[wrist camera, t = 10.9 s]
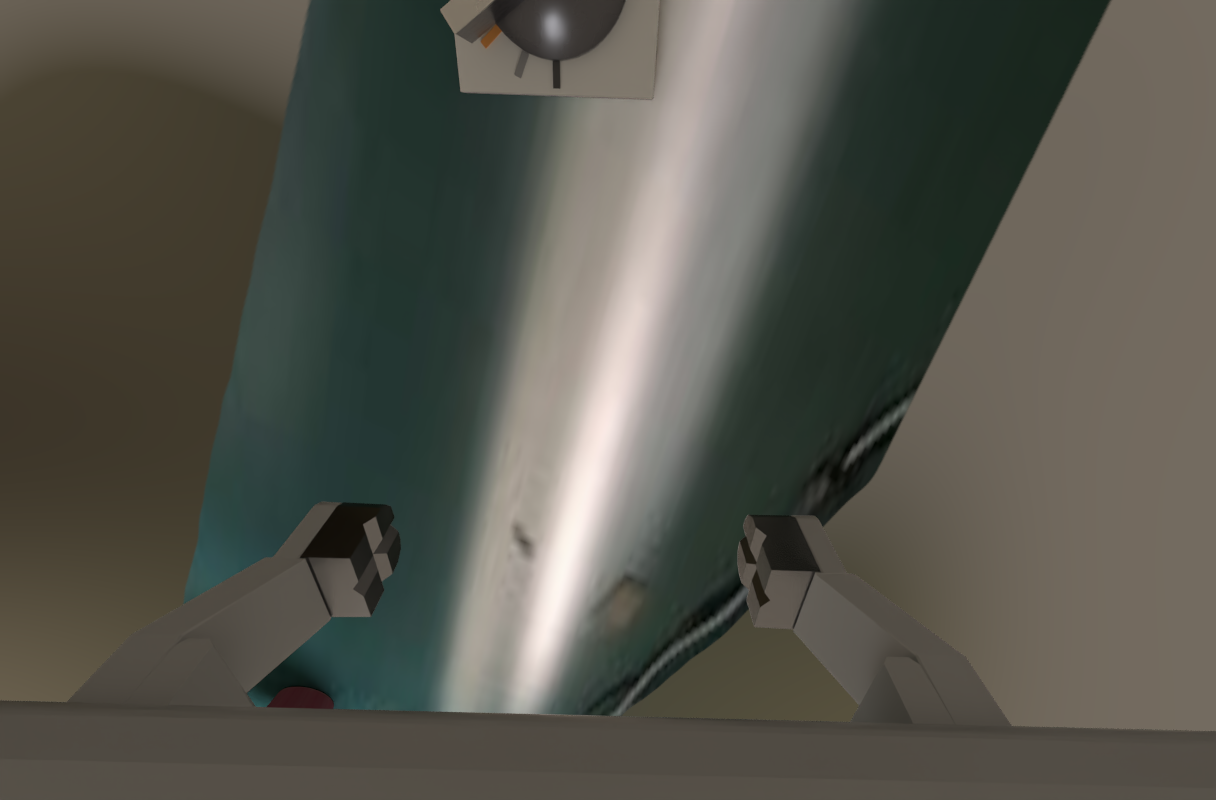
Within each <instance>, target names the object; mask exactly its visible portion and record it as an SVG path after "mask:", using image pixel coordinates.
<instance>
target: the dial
mask: <svg viewBox="0 0 1216 800" xmlns="http://www.w3.org/2000/svg"><path fill="white" fill-rule="evenodd" d="M625 2H626V0H451V1H449V2H448V3H447V4H446V5H445V6H444V7H443V8H441V9H440V11H441V13H442V14H443V16H444V17H445V19H446V21H447V22H448V24H449V26H450V27H451V29H452V31H453V32H454V34H457V35H458V36H460V37H462V38H463V39H465V40H467V41H468V42H470V43H473V42H475V41H476V40H477V39H478V38H479V37H481V36H482V35H483V34H484V33H485V32H487V31H488V30H489V29H490V28H491V27H493V26H494V25H495V24H496V25H497V26H498V27H499V28H500V29H501V31H502V32H503V33H504V34H505V35H506V36H507V37H508V38H509V39H510V40H511V41H512V42H513V43H514V44H516V45H517V46H518V47H520V48H521V49H522V50H524V51H526V52H527V53H529V54H531V55H533V56H536V57H538V58H541V59H546V60H550V61H565V60H571V59H574V58H578V57H580V56H582V55H585V54H587V53H588V52H590V51H591V50H593V49H594V48H596V47H597V46H598V45H599V44H600V43H601V42H603V40H604V39H605V38H606V37H607V36H608V35H609V34H610V32H611V31H612V29H613V28H614V26H615V25H616V23H617V21H618V19H619V17H620V15H621V13H622V10H623V8H624V5H625Z"/></svg>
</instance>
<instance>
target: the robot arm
mask: <svg viewBox="0 0 1216 800" xmlns="http://www.w3.org/2000/svg"><path fill="white" fill-rule="evenodd" d="M393 519H394V514H393V511H392V508H391V506H388V505H384V504H365V503H346V502H343V503H336V502H320V503H318V504H316V505H314V507H313V508H312V509H311V510H310V511H309V513H308V514H307V515H306V517H305V518H304V519H303V520H302V522H301V523H300V524H299V525H298V527H297V528H296V529H295V530H294V532H293V533H292V534H291V535H290V537H289V538H288V539H287V540H286V542H285V543H284V544H283V545H282V547H281V548H280V549H279V550H278V552H277V553H276V554H275V555H274V557H273V558H264V559H262V560H260V561H259V562H257V563H255V564H253V565H252V566H250V567H248V568H246V569H245V570H243V571H241V572H239V573H238V574H236V575H234V576H232V577H231V578H229V579H227V580H225V581H224V582H222V583H220V584H218V585H217V586H215V587H213V588H211V589H210V590H208V591H206V592H204V593H203V594H201V595H199V596H197V597H196V598H194V599H192V600H190V601H189V602H187V603H185V604H184V605H182V606H180V607H178V608H177V609H175V610H173V611H171V612H170V613H168V614H166V615H164V616H163V617H161V618H159V619H157V620H156V621H154V622H152V623H151V624H149V625H147V626H145V627H143V628H142V629H140V630H138V631H136V632H135V633H133V634H131V635H130V636H129V637H128V638H127V639H126V640H125V641H124V643H123V644H122V645H121V646H120V647H119V648H118V649H117V650H116V651H115V652H114V653H113V654H112V655H111V656H110V657H109V658H108V659H107V660H106V661H105V662H104V663H103V664H102V666H101V667H100V668H99V669H98V670H97V671H96V672H95V673H94V674H93V675H92V676H91V677H90V678H89V679H88V680H87V681H86V682H85V683H84V684H83V685H82V687H80V689H79V690H78V691H77V692H76V693H75V694H74V695H73V696H72V697H71V698H70V699H69V700H68V701H67V702H40V701H39V702H38V701H2V700H1V701H0V800H1216V731H1187V730H1148V729H1145V730H1144V729H1108V728H1105V729H1104V728H1067V727H1025V726H1011V724H1010V723H1009V721H1008V720H1007V718H1006V717H1005V715H1004V714H1003V712H1002V711H1001V709H1000V708H999V706H998V705H997V703H996V702H995V700H994V699H993V697H992V696H991V694H990V693H989V691H988V690H987V688H986V687H985V685H984V684H983V682H982V681H981V679H980V678H979V676H978V675H977V673H976V672H975V670H974V669H973V667H972V666H971V664H970V663H969V661H968V660H967V658H966V657H965V656H964V655H962V654H961V653H960V652H958V651H957V650H955V649H954V648H953V647H952V646H950V645H949V644H947V643H946V642H945V641H943V640H942V639H941V638H939V637H938V636H937V635H935V634H934V633H933V632H931V631H930V630H929V629H927V628H926V627H924V626H923V625H922V624H921V623H919V622H918V621H917V620H915V619H914V618H913V617H911V616H910V615H909V614H907V613H906V612H905V611H903V610H902V609H901V608H899V607H898V606H897V605H895V604H894V603H892V602H891V601H890V600H888V599H887V598H886V597H885V596H883V595H882V594H881V593H879V592H878V591H877V590H875V589H874V588H873V587H871V586H870V585H868V584H867V583H866V582H865V581H863V580H862V579H861V578H859V577H858V576H857V575H855V574H848V573H847V572H846V570H845V568H844V566H843V564H842V562H841V561H840V559H839V557H838V555H837V553H836V552H835V549H834V548H833V546H832V544H831V542H830V540H829V538H828V536H827V535H826V533H825V531H824V529H823V527H822V525H821V523H820V521H819V520H818V518H816V517H815V516H800V515H792V516H789V515H748V516H747V517H746V519H745V522H744V526H743V528H744V531H745V534H746V536H745V537H744V538H743V539H742V540H741V541H740V543H739V548H738V570H739V575H740V579H741V582H742V584H743V585H744V586H746V587H747V588H748V589H749V592H748V596H747V604H748V607H749V610H750V614H751V617H752V621H753V624H754V627H762V628H780V629H794V630H793V632H794V633H795V634H796V635H797V636H798V637H799V638H800V639H801V641H802V642H804V644H805V645H806V646H807V647H808V648H809V649H810V651H811V652H812V653H813V654H814V655H815V656H816V657H817V659H818V660H819V661H820V662H821V663H822V664H823V665H824V666H825V668H826V669H827V670H828V671H829V672H830V673H831V674H832V675H833V676H834V678H835V679H836V680H837V681H838V682H839V683H840V684H841V685H842V687H843V688H844V689H845V690H846V691H847V692H848V693H849V694H850V696H851V697H852V698H853V699H854V700H855V701H856V702H857V703H858V704H859V707H858V709H857V711H856V712H855V714H854V716H853V718H852V720H851V722H829V721H789V720H748V719H710V718H670V717H668V718H667V717H630V716H590V715H550V714H509V713H469V712H429V711H389V710H350V709H311V708H272V707H255V705H254V704H253V702H252V701H251V699H250V698H249V696H248V695H247V692H248V691H249V690H251V689H252V688H253V687H254V686H255V685H256V684H257V683H259V682H260V681H261V680H262V679H263V678H264V677H265V676H267V675H268V674H269V673H270V672H271V671H272V670H273V669H275V668H276V667H277V666H278V665H279V664H280V663H281V662H283V661H284V660H285V659H286V658H287V657H288V656H290V655H291V654H292V653H293V652H294V651H295V650H296V649H298V648H299V647H300V646H301V645H302V644H303V643H304V642H306V641H307V640H308V639H309V638H310V637H311V636H312V635H314V634H315V633H316V632H317V631H318V630H319V629H320V628H322V627H323V626H324V625H325V624H326V623H327V622H328V621H330V620H331V617H371V616H372V614H373V612H374V610H375V608H376V606H377V604H378V602H379V600H380V598H381V596H382V594H383V592H384V588H383V585H382V581H383V580H384V579H386V578H387V577H388V576H390V575H391V574H392V573H393V571H394V569H395V567H396V565H397V563H398V559H399V555H400V550H401V544H400V536H399V532H398V531H397V530H396V529H395V528H394V527H392V526H391V525H390V524H391V523H392V521H393Z"/></svg>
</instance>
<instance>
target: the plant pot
mask: <svg viewBox="0 0 1216 800" xmlns="http://www.w3.org/2000/svg"><path fill="white" fill-rule="evenodd" d="M267 707H272V708H311V709H333V707H334V704H333V701H332V700H331V698H330V697H329V696H327V695H326V694H324V693H322V692H320V691H318V690H315V689H312V688H307V687H289V688H285V689H283V690H281V691H280V692H279V693H278V694H277V695H276V696H275V698H274V699H273V700H272V701H271V702H270V704H269V705H268V706H267Z"/></svg>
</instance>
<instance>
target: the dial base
mask: <svg viewBox="0 0 1216 800" xmlns="http://www.w3.org/2000/svg"><path fill="white" fill-rule="evenodd" d="M659 4H660V0H626V2H625V5H624V8H623V10H622V13H621V15H620V17H619V19H618V21H617V23H616V25H615V26H614V28H613V29H612V31H611V32H610V34H609V35H608V36H607V37H606V38H605V39H604V40H603V42H601V43H600V44H599V45H598V46H597V47H596V48H594V49H593V50H591V51H590V52H588V53H587V54H585V55H582V56H580V57H578V58H574V59H571V60H565V61H550V60H546V59H541V58H538V57H536V56H533V55H531V54H529V53H527V52H526V51H524V50H522V49H521V48H520V47H518V46H517V45H516V44H514V43H513V42H512V41H511V40H510V39H509V38H508V37H507V36H506V35H505V34H504V33H503V32H502V31H501V29H500V28H499V27H498V26H497V25H496V24H495V25H494V26H493V27H491V28H490V29H489V30H488V31H487V32H485V33H484V34H483V35H482V36H481V37H479V38H478V39H477V40H476V41H475V42H473V43H470V42H468V41H467V40H465V39H463V38H462V37H460V36H458V35H457V34H455V44H456V53H457V62H458V72H459V81H460V90H461V92H464V93H480V94H508V95H535V96H563V97H591V98H618V99H646V100H652V99H653V94H654V79H655V64H656V49H657V34H658V19H659Z"/></svg>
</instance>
